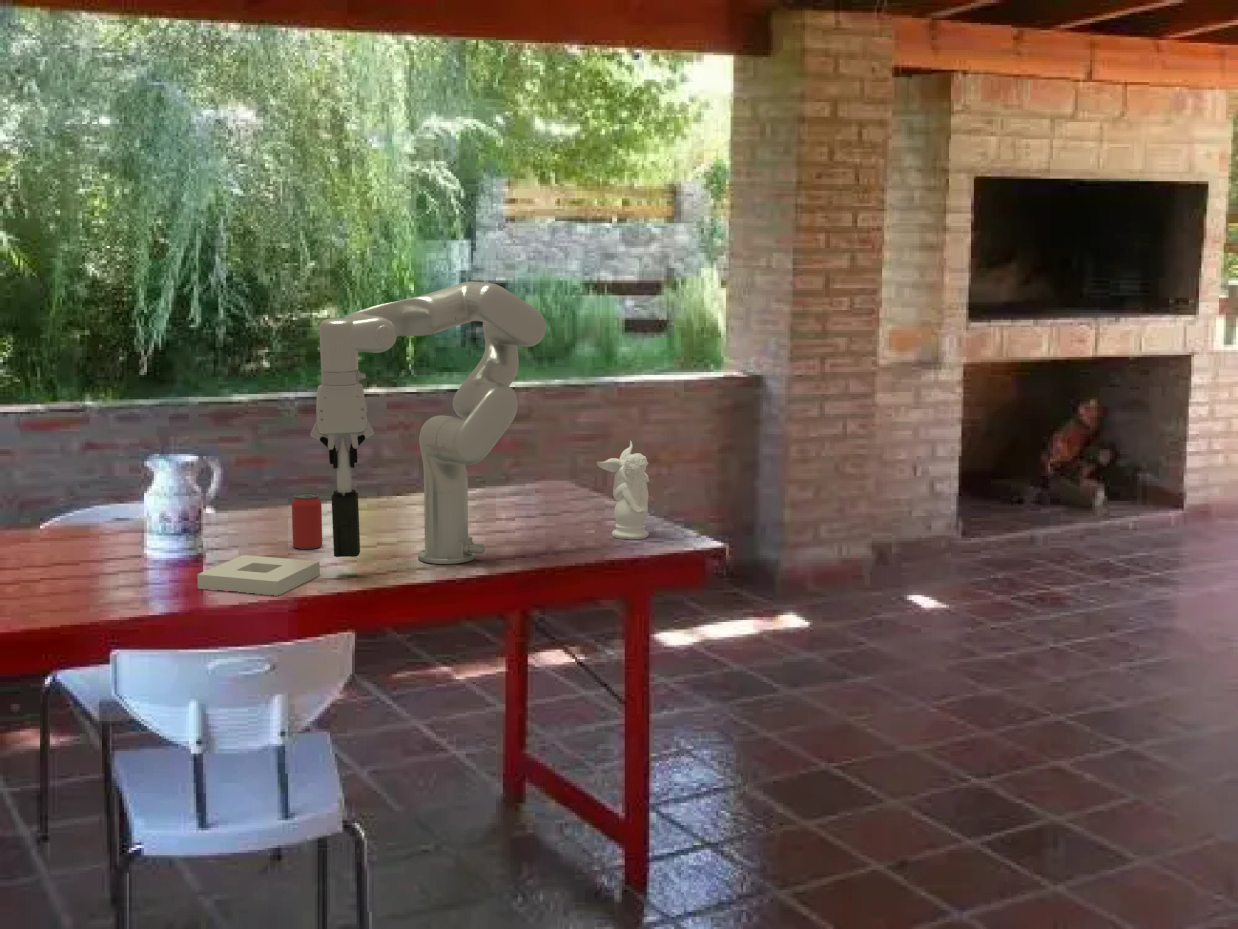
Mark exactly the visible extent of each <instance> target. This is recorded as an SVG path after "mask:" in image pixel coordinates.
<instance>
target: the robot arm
mask: <svg viewBox="0 0 1238 929" xmlns="http://www.w3.org/2000/svg"><path fill="white" fill-rule="evenodd" d="M471 322H482V331H483V336H484V353H483V355H482V358H481V359H480V361H479V362H478V363H477V364H476V366H475V368H474V369H473V370H472V371H471V372H470V374H469V375H468V376H467V378H466V379H465V380H464V382H463V383H462V384H461V385H460V386H459V388H458V389H457V391H456V392H455V394H454V396H453V399H452V408H453V411H454V412H455V413H456V415H457V416H459V417H456V416H451V415H435V416H432V417H430V418H428V420H426V421H425V422H424V423H423V425H422V426H421V428H420V431H419V438H418V439H419V440H418V441H419V449H420V454H421V459H422V465H423V466H422V467H423V485H424V486H423V487H424V488H423V491H424V492H423V493H424V494H423V496H424V497H423V499H424V500H423V506H424V510H423V512H424V519H423V520H424V549H422V550H420V551H419V552H418V553H417V559H418V560H419V561H421V562H424V563H427V564H435V565H437V564H438V565H454V564H455V565H456V564H462V563H467V562H471V561H473V560H474V559H475V558H476V555H477V554H478V555H484V554H485V552H486V546H485V544H483V543H475V542H473V536H469V496H468V495H469V488H468V487H469V480H468V479H469V478H468V471H467V468H466V466H471V465H476V464H478V463H479V462H482V460H484V459H485V458H486V457H487V456H488V455H489V453H490V452H491V451H492V449H493V448H494V447H495V446H496V444H497V443H498V441H499V440H501V438H502V436H503V435H504V434H505V432H506V431H507V430H508V429H509V427H510V426H511V425H512V423H513V422H514V419H515V417H516V415H517V412H518V408H519V407H518V404H519V402H518V397H517V394H516V393H515V390H513V388H512V387H510V386H511V384H512V383H513V382H514V380H515V378H516V377H517V374H518V371H519V363H520V362H519V361H520V360H519V351H518V347H523V348H524V347H525V348H528V347H529V348H531V347H534V346H536V345H539V343H541V341H542V340H543V339H544V337H545V335H546V330H547V324H546V320H545V317H544V316H543V314H542V313H541V311H539V310H538V309H536V308H535V307H533V305H531V304H529V303H527V302H526V301H524V300H523V299H521V297H518V296H516V295H515V294H514V293H512V292H511V291H510V290H508V289H506V288H504V287H503V286H500V285H498V284H496V283H493V282H483V281H474V280H473V281H465V282H461V283H458V284H454V285H451V286H448V287H444V288H442V289H439V290H435V291H432V292H429V293H424V294H422V295H419V296H413V297H409V298H405V299H400V300H395V301H391V302H386V303H381V304H378V305H374V306H369V307H367V308H364V309H360V310H357V311H355V312H351V313H350V314H348V315H346V316H345V317H343V318H340V317H338V318H336V317H333V318H327V319H324V320H322V321H321V322H320V324H319V351H320V372H321V373H320V374H321V384H320V385H318V386H317V390H316V391H317V392H316V404H315V405H316V407H315V409H316V411H315V412H316V415H315V416H316V418H315V419H316V421H315V423H314V425H313V427H312V430H311V432H310V434H309V435H310V438H311V439H315V440H317V441H319V442H320V443H322V445H324V446H325V447H326V448H327V449H328V456H329V460H328V462H329V465H332V467H333V468H332V469H334V470H335V469H336V470H337V453H336V452H337V448H336V445H335V435H350V442H351V443H350V445H349V448H348V450H349V451H350V463H351V469H354V468H355V464H358V448H359V447H360V445H361V444H362V443H363V442H364V441H365V440H366V439H369V438H370V437H372V436H373V435H375V431H374V429H373V427H372V425H371V424H370V422H369V421H368V416H367V406H366V405H367V404H366V398H365V391H364V387H363V384H362V383H360V381H363V380H366V378H367V376H366V375H367V374H366V372H362V371H360V370H359V356H358V354H359V353H373V354H375V353H376V354H377V353H384V352H387V351H388V350H390V349H391V348H392V347H393V346H394V344H396V341H397V337H410V336H411V337H421V336H428V335H435V334H437V333H441V332H444V331H446V330H449V329H452V328H455V327H458V326H461V325H465V324H467V323H471ZM358 434H359V435H358ZM325 435H327V437H326V436H325Z"/></svg>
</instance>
